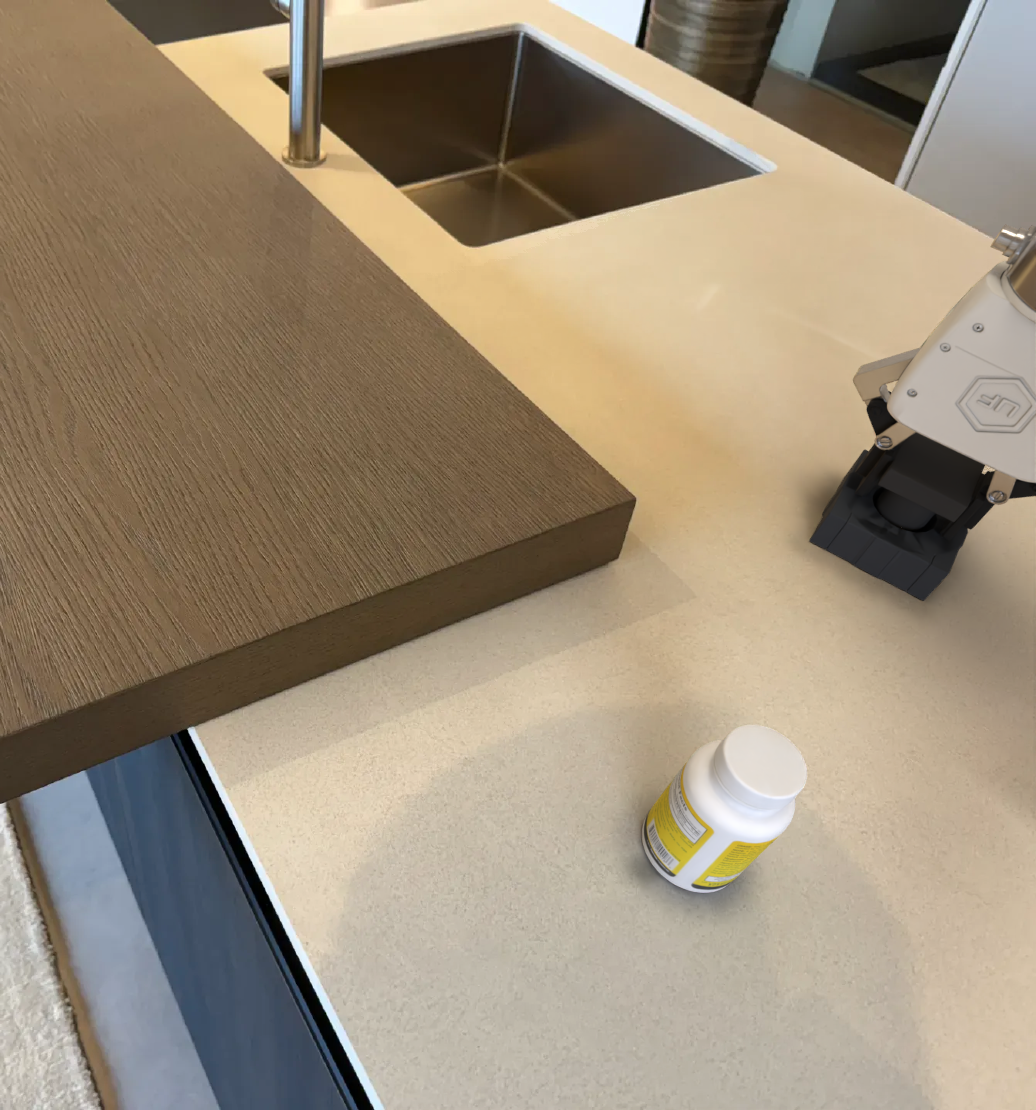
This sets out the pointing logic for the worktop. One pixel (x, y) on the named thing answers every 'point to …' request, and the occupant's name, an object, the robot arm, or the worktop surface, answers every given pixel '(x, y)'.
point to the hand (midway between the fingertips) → (908, 503)
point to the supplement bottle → (724, 808)
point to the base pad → (885, 540)
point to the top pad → (926, 483)
